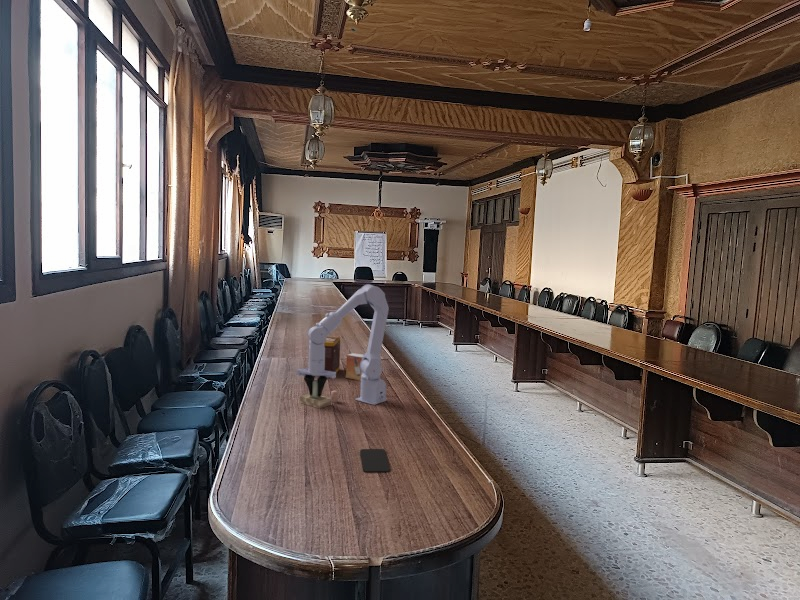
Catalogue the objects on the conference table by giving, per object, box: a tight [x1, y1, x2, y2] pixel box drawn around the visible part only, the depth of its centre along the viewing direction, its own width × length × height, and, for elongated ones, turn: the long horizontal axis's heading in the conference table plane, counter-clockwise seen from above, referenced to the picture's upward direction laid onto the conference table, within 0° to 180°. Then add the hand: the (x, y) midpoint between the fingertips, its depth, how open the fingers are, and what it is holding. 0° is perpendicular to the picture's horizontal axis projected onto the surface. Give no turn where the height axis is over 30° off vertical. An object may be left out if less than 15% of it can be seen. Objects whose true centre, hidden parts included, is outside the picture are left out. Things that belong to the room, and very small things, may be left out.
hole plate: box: [299, 392, 332, 409], centre depth 200 cm, size 10×6×2 cm, turn 55°
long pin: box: [312, 379, 319, 399], centre depth 200 cm, size 3×3×8 cm
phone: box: [359, 448, 391, 474], centre depth 151 cm, size 7×1×15 cm
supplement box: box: [324, 335, 341, 374], centre depth 247 cm, size 10×15×16 cm
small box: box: [345, 352, 364, 382], centre depth 239 cm, size 8×6×10 cm
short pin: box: [330, 390, 339, 404], centre depth 204 cm, size 3×3×4 cm
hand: (315, 395), depth 200 cm, fingers closed on long pin, 2 cm apart
